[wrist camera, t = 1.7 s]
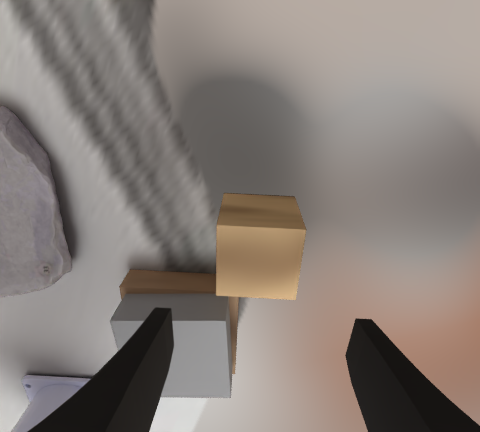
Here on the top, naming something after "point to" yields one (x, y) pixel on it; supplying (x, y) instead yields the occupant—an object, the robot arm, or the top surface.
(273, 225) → the oak cube
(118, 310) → the top slab
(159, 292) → the bottom slab
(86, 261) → the top surface
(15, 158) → the stone block
